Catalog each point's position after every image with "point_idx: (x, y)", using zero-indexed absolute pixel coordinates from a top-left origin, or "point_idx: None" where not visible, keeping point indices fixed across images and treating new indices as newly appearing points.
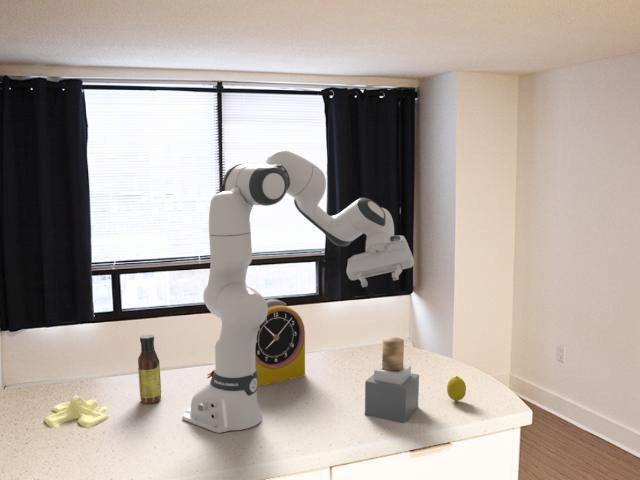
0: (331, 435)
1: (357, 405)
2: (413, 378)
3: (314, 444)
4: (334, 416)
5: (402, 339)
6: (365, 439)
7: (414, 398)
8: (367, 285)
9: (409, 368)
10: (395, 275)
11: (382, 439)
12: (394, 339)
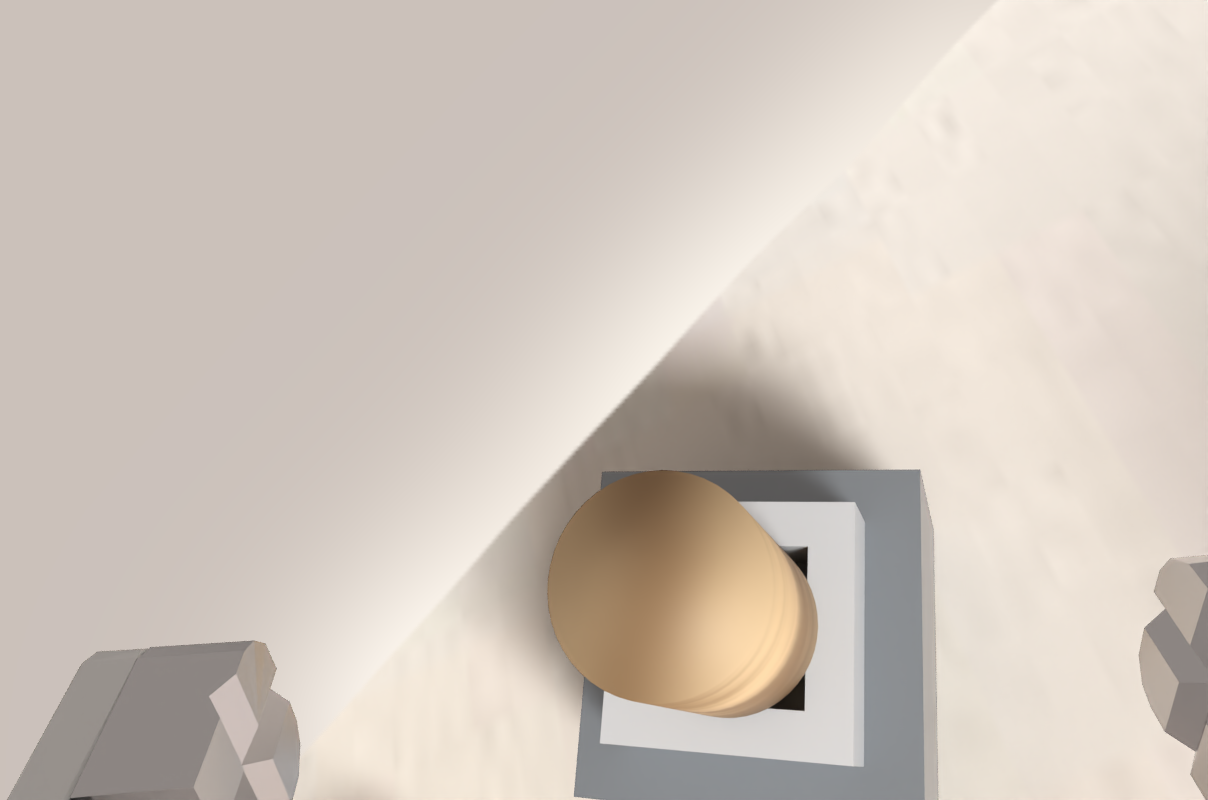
0: (995, 204)
1: (1051, 658)
2: (595, 688)
3: (1027, 83)
4: (1111, 423)
5: (571, 651)
6: (806, 254)
7: None
8: (1158, 714)
9: (607, 703)
10: (126, 661)
11: (727, 295)
12: (650, 615)
